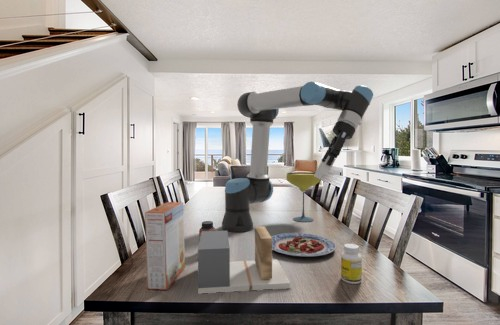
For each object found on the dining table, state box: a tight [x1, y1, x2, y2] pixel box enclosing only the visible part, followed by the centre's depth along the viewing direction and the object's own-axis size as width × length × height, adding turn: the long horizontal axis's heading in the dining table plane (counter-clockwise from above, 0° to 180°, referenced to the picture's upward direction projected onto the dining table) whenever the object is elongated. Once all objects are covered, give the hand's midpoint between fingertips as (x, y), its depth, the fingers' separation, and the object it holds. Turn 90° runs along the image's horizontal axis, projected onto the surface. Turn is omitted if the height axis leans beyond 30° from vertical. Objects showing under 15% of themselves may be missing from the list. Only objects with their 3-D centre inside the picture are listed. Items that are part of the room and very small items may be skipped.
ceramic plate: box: [271, 232, 337, 258], centre depth 103 cm, size 26×26×3 cm
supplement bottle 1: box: [198, 220, 217, 243], centre depth 97 cm, size 6×6×11 cm
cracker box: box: [144, 201, 186, 291], centre depth 77 cm, size 14×6×21 cm, turn 174°
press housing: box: [197, 230, 291, 295], centre depth 78 cm, size 24×16×12 cm, turn 97°
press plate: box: [254, 225, 273, 279], centre depth 79 cm, size 3×12×11 cm, turn 7°
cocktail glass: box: [286, 171, 322, 223], centre depth 146 cm, size 18×18×25 cm
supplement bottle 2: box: [340, 243, 363, 285], centre depth 76 cm, size 5×5×10 cm
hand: (319, 176), depth 98 cm, fingers open, 13 cm apart
